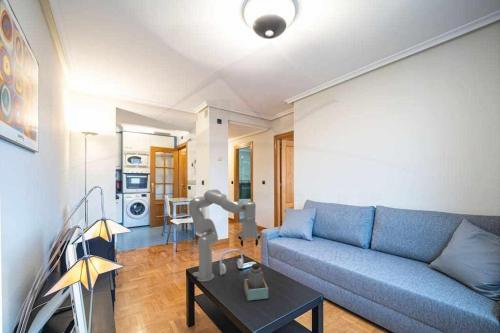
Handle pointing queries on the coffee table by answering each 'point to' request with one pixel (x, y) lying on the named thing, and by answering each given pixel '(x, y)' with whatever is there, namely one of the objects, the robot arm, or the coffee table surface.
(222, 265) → the headset
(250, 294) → the gate
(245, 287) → the cubby
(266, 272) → the coffee table surface
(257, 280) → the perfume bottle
